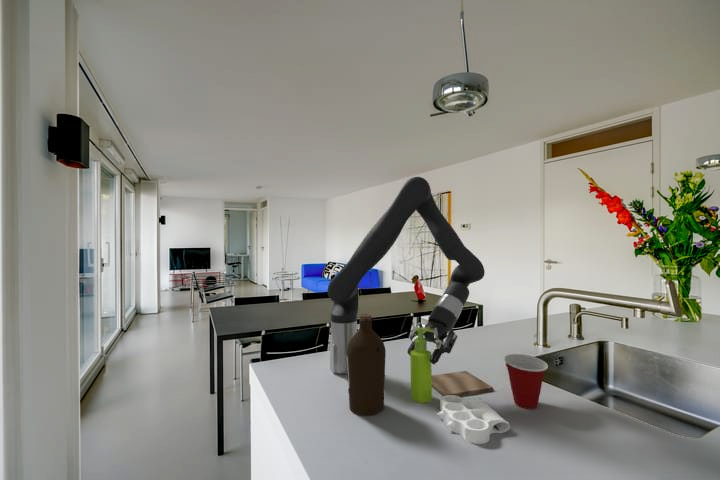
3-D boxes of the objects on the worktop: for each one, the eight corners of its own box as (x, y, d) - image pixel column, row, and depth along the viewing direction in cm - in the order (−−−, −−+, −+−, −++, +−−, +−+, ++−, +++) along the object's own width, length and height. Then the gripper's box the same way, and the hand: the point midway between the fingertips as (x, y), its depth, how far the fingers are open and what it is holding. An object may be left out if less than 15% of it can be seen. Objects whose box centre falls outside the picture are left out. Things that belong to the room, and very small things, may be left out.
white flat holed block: (518, 441, 77) (457, 448, 74) (478, 404, 94) (427, 409, 92) (518, 426, 77) (457, 433, 74) (478, 392, 94) (427, 396, 92)
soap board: (445, 398, 97) (445, 394, 97) (422, 379, 111) (422, 376, 111) (493, 390, 102) (493, 387, 102) (465, 373, 115) (465, 370, 115)
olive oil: (391, 401, 96) (389, 312, 96) (379, 420, 86) (377, 320, 86) (356, 396, 99) (354, 310, 100) (340, 413, 90) (339, 317, 90)
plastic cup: (531, 418, 86) (530, 370, 86) (496, 400, 95) (495, 357, 96) (558, 407, 91) (557, 362, 91) (522, 392, 100) (521, 351, 101)
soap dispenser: (435, 404, 94) (434, 331, 94) (410, 402, 95) (409, 330, 96) (435, 394, 100) (434, 326, 100) (411, 392, 101) (410, 325, 101)
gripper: (422, 302, 108) (396, 345, 101) (459, 308, 97) (433, 357, 90) (434, 316, 111) (409, 359, 104) (471, 324, 100) (446, 373, 93)
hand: (420, 358), depth 97 cm, fingers open, 8 cm apart
